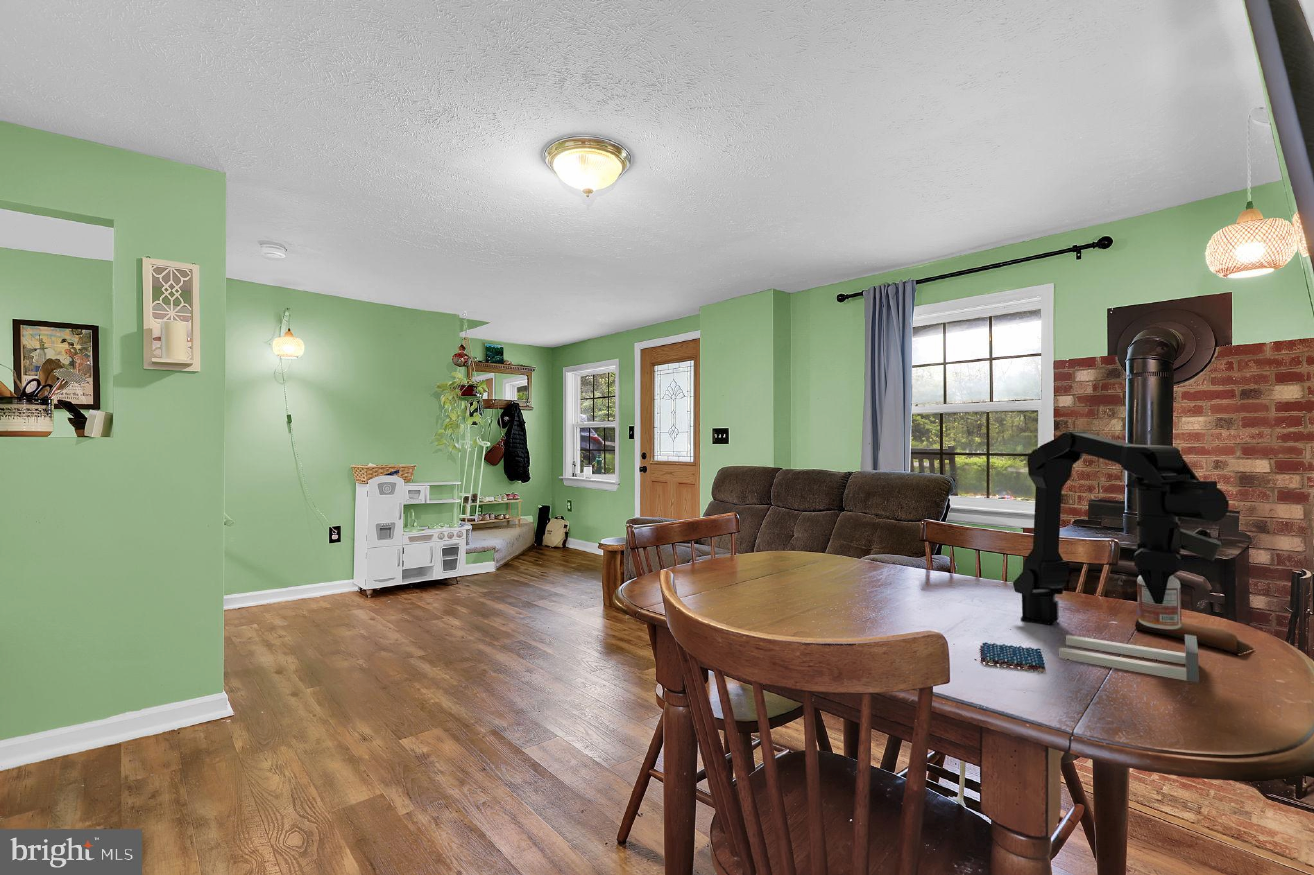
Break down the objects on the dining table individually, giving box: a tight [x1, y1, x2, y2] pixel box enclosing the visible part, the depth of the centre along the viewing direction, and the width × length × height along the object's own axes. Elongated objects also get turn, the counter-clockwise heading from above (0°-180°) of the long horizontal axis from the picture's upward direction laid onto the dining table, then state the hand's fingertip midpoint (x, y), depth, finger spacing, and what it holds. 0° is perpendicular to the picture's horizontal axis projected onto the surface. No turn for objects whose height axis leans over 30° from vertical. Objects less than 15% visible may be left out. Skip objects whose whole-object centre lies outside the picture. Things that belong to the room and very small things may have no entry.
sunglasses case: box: [1134, 618, 1255, 654], centre depth 125 cm, size 18×7×7 cm
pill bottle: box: [1136, 574, 1183, 629], centre depth 112 cm, size 6×6×11 cm
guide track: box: [1058, 634, 1200, 684], centre depth 115 cm, size 20×12×5 cm, turn 50°
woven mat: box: [979, 641, 1046, 673], centre depth 117 cm, size 10×11×2 cm
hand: (1159, 600), depth 112 cm, fingers closed on pill bottle, 6 cm apart
